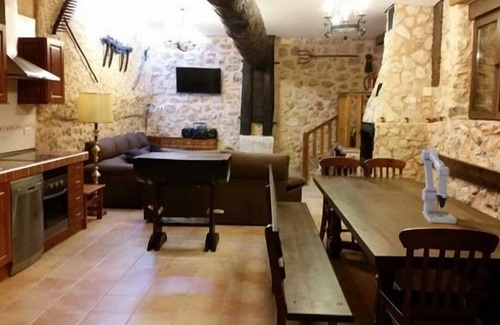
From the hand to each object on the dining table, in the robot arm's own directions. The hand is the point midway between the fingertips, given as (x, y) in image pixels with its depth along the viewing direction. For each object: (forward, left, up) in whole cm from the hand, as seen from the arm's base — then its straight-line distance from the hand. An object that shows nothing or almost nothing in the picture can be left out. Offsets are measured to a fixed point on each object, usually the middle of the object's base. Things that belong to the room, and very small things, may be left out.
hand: (441, 207), depth 309 cm
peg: (0, 0, -2) cm, 2 cm away
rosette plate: (-2, 0, -9) cm, 9 cm away
